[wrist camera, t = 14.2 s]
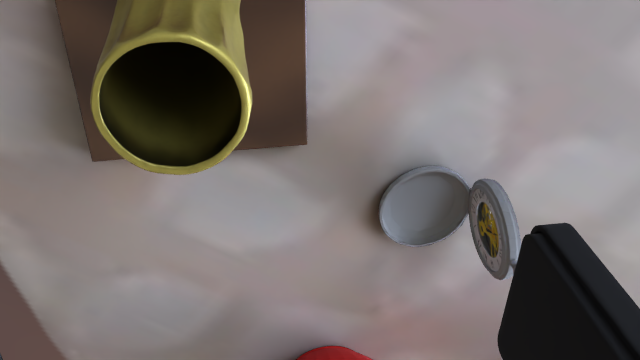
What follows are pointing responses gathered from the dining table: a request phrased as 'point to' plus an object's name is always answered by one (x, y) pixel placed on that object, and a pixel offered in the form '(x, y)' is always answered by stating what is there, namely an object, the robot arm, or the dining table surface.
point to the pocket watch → (452, 215)
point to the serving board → (261, 58)
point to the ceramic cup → (332, 354)
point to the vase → (173, 84)
